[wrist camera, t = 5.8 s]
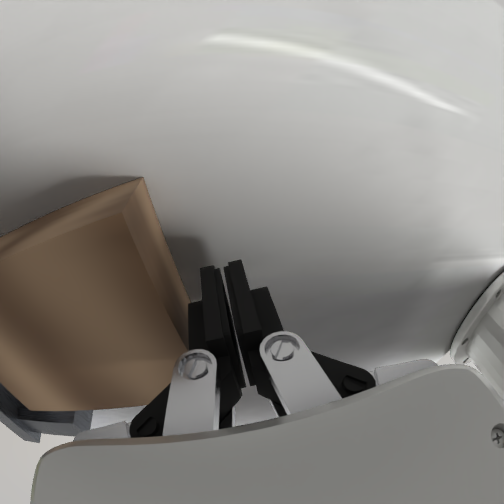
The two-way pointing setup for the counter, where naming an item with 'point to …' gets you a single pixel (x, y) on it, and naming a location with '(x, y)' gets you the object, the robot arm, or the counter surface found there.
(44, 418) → the stop bracket
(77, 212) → the walnut slab
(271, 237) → the counter surface
